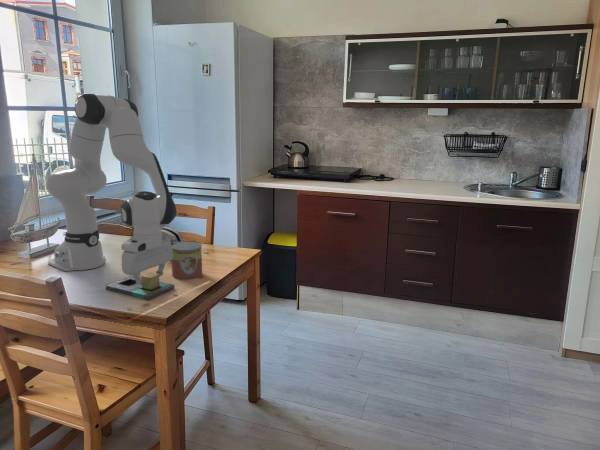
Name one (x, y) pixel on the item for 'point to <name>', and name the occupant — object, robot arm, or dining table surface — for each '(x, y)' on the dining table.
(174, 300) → the dining table surface
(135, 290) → the peg hole board
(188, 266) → the canned food
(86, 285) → the dining table surface
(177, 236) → the grey curved piece
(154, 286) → the brass peg
